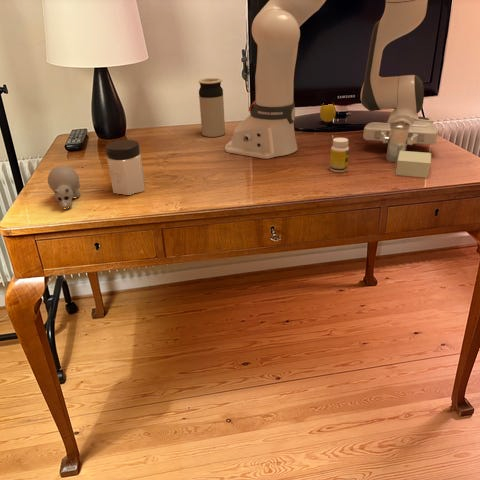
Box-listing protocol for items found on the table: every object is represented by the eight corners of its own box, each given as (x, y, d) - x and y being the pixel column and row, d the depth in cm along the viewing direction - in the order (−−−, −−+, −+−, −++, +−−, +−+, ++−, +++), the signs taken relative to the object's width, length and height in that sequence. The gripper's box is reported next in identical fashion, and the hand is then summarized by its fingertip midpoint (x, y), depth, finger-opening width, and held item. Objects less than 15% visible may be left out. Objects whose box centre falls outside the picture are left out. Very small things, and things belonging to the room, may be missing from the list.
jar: (105, 193, 118) (96, 148, 112) (123, 181, 124) (116, 138, 118) (135, 197, 115) (128, 151, 109) (152, 185, 121) (146, 141, 115)
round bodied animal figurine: (52, 220, 111) (41, 196, 105) (54, 186, 119) (44, 161, 112) (83, 216, 112) (74, 192, 106) (83, 182, 120) (75, 157, 113)
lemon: (317, 121, 168) (318, 99, 164) (332, 120, 168) (334, 98, 164) (321, 125, 163) (322, 103, 159) (337, 124, 163) (338, 102, 159)
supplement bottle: (347, 173, 124) (349, 142, 120) (329, 172, 125) (331, 142, 120) (347, 166, 128) (349, 137, 124) (330, 166, 129) (331, 136, 125)
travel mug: (228, 135, 157) (225, 80, 148) (206, 138, 155) (201, 83, 146) (220, 129, 164) (217, 76, 155) (199, 132, 161) (195, 79, 152)
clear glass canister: (385, 161, 130) (389, 126, 125) (386, 155, 134) (391, 121, 129) (404, 163, 128) (409, 127, 123) (405, 157, 133) (410, 122, 128)
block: (395, 174, 121) (397, 160, 119) (397, 164, 128) (399, 150, 126) (427, 177, 119) (430, 163, 117) (428, 167, 125) (431, 153, 123)
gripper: (367, 115, 141) (360, 127, 130) (438, 119, 134) (438, 132, 123) (365, 135, 144) (358, 149, 133) (435, 140, 137) (434, 155, 126)
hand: (397, 141), depth 128 cm, fingers closed on clear glass canister, 5 cm apart
